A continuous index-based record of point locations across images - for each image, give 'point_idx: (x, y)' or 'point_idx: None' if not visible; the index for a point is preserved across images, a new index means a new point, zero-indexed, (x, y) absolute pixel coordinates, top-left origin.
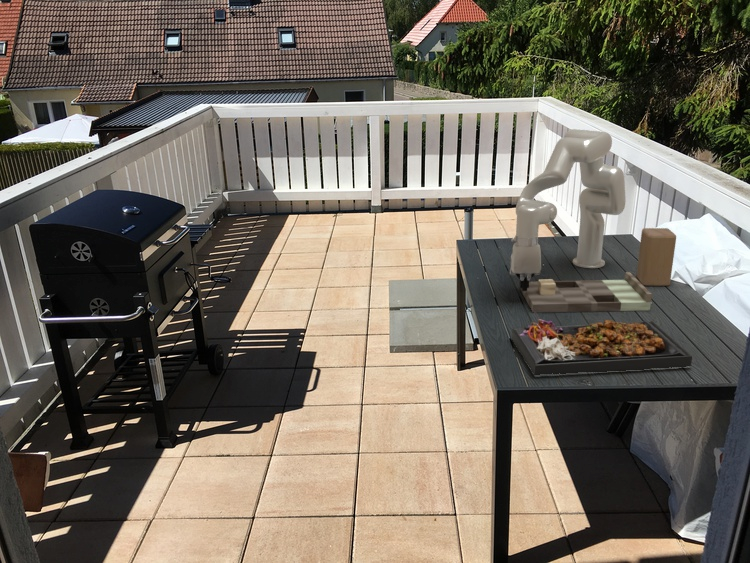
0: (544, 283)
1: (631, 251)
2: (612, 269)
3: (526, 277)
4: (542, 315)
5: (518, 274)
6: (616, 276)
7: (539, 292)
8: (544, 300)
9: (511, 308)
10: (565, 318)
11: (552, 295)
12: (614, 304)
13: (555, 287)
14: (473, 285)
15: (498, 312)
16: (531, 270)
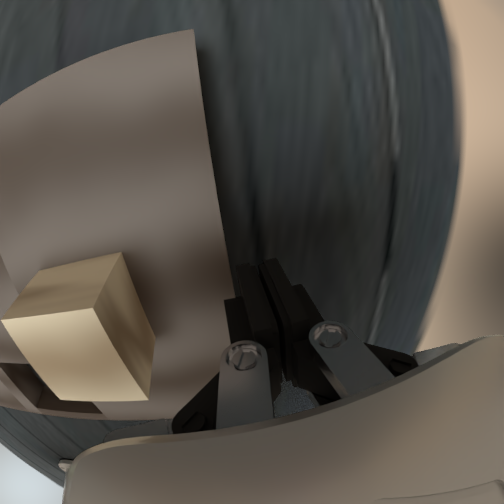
0: (75, 334)
1: (55, 478)
2: (38, 449)
3: (271, 381)
4: (133, 23)
5: (393, 374)
6: (13, 426)
7: (136, 294)
8: (87, 137)
9: (329, 113)
10: (24, 34)
11: (47, 255)
12: None
13: (13, 302)
14: (410, 354)
15: (395, 67)
16: (237, 484)
